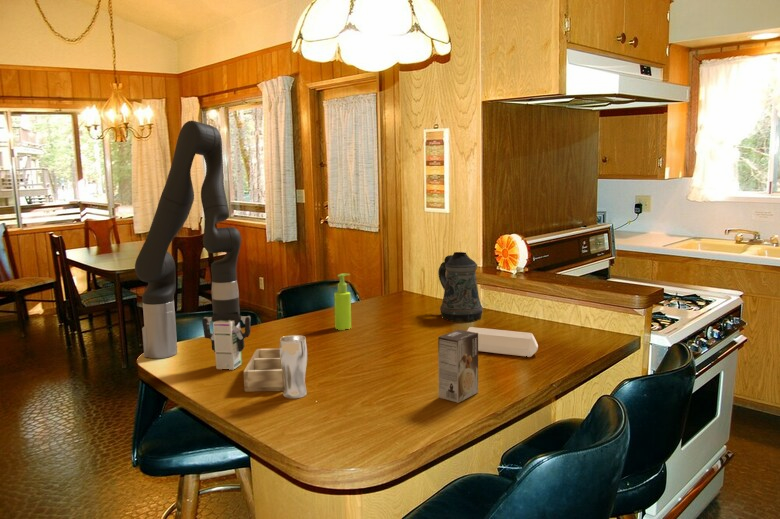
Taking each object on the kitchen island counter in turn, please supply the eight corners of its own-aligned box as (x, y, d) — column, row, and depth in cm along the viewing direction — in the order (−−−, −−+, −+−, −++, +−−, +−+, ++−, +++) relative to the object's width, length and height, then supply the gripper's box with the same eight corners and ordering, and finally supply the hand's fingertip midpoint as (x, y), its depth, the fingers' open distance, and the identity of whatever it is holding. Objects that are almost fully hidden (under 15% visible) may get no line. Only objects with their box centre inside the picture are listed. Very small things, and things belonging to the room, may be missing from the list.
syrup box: (234, 370, 176) (231, 322, 174) (215, 369, 177) (212, 321, 175) (242, 364, 181) (240, 317, 179) (224, 363, 182) (221, 316, 180)
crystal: (541, 339, 190) (468, 331, 200) (537, 333, 184) (462, 325, 194) (538, 362, 188) (464, 353, 198) (535, 356, 182) (458, 348, 192)
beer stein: (475, 323, 225) (475, 257, 221) (426, 318, 233) (426, 254, 229) (487, 313, 239) (488, 251, 236) (441, 309, 248) (441, 249, 244)
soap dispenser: (356, 326, 222) (355, 273, 219) (344, 331, 217) (343, 276, 214) (343, 324, 226) (342, 271, 223) (332, 328, 220) (330, 274, 217)
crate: (244, 391, 159) (243, 371, 158) (257, 366, 179) (256, 349, 178) (286, 390, 159) (285, 370, 158) (294, 365, 179) (294, 348, 178)
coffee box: (458, 387, 160) (458, 328, 158) (478, 393, 156) (479, 332, 153) (437, 397, 153) (437, 336, 151) (458, 403, 149) (458, 340, 147)
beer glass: (296, 401, 152) (294, 343, 149) (275, 396, 155) (273, 339, 153) (314, 392, 158) (312, 336, 155) (293, 387, 161) (291, 333, 159)
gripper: (196, 299, 172) (200, 355, 174) (247, 298, 173) (250, 354, 175) (203, 294, 179) (207, 348, 182) (252, 292, 180) (255, 346, 183)
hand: (228, 351), depth 178 cm, fingers closed on syrup box, 6 cm apart
